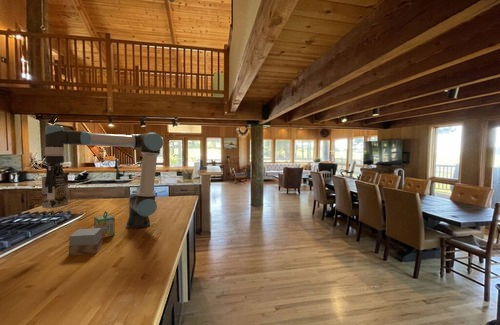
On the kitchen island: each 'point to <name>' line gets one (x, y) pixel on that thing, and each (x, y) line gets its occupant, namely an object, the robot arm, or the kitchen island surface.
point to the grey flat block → (85, 237)
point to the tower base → (85, 248)
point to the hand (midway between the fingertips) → (55, 197)
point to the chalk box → (105, 224)
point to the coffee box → (56, 193)
